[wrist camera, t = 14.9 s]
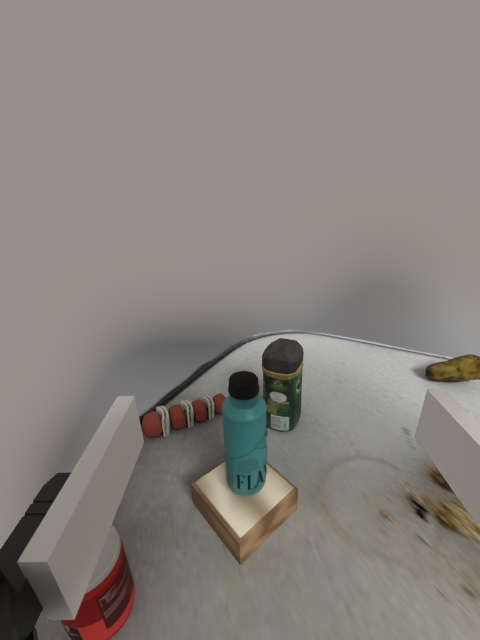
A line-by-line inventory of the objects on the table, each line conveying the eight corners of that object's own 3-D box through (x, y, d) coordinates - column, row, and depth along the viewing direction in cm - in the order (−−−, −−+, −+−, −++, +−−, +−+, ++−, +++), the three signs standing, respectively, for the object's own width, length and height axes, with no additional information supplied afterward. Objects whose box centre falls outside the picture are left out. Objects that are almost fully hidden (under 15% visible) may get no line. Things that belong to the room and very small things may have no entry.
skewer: (251, 393, 70) (114, 435, 59) (251, 409, 72) (118, 453, 60) (241, 382, 75) (112, 418, 63) (241, 397, 76) (116, 436, 65)
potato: (425, 367, 85) (431, 342, 82) (482, 380, 79) (491, 353, 75) (423, 382, 79) (429, 355, 76) (484, 398, 72) (494, 369, 69)
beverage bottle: (232, 510, 44) (226, 398, 36) (220, 473, 49) (213, 369, 42) (273, 497, 45) (276, 386, 37) (257, 462, 51) (257, 360, 43)
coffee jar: (271, 401, 74) (272, 332, 66) (303, 408, 71) (307, 338, 63) (257, 427, 66) (256, 353, 58) (293, 437, 63) (296, 360, 55)
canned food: (68, 591, 40) (44, 538, 35) (131, 560, 43) (116, 508, 38) (65, 667, 33) (35, 614, 29) (140, 624, 36) (123, 570, 32)
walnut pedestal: (247, 463, 57) (246, 443, 55) (296, 508, 49) (297, 487, 47) (193, 503, 50) (190, 482, 48) (240, 565, 42) (239, 542, 40)
